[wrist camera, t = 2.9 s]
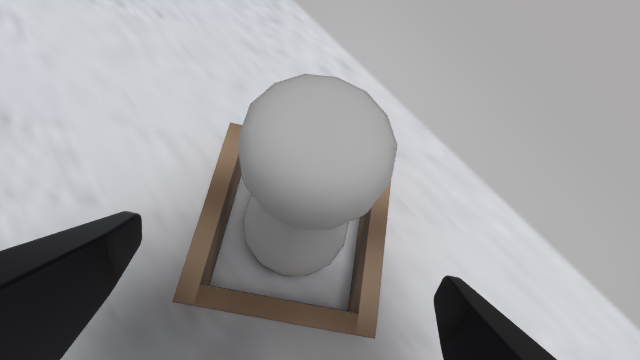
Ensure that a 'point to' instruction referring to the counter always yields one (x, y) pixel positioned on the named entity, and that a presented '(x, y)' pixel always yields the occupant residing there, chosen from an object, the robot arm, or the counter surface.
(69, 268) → the robot arm
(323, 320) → the walnut frame
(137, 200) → the counter surface
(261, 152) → the salt shaker
